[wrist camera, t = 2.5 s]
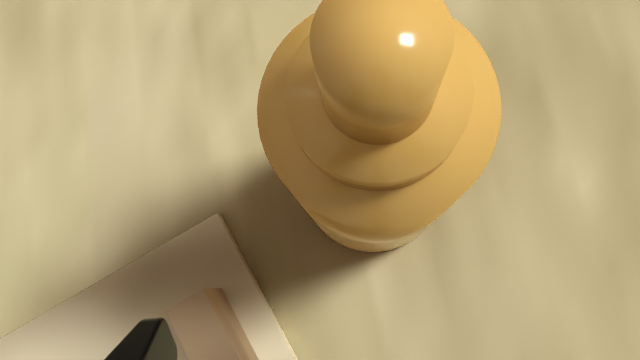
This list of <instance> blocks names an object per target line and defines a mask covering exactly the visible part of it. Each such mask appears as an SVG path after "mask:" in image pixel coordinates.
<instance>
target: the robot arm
mask: <svg viewBox="0 0 640 360" xmlns="http://www.w3.org/2000/svg"><path fill="white" fill-rule="evenodd" d="M177 357H178V352H177V346H176V343H175V341H174V338H173V336H172V333H171V331H170V328H169V326H168V324H167V322H166V320H165V319H164V318H161V317H158V318H146V319H142V320H141V321H139V322H138V323H137V324H136V325H135V327H134V328H133V329H132V330H131V331H130V332H129V333H128V334H127V335H126V336H125V337H124V338H123V340H122V341H121V342H120V343H119V344H118V345H117V346H116V347H115V348H114V349H113V350H112V351H111V353H110V354H109V355H108V356H107V357H106V358H105V359H104V360H177Z"/></svg>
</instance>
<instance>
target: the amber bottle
mask: <svg viewBox="0 0 640 360" xmlns="http://www.w3.org/2000/svg"><path fill="white" fill-rule="evenodd" d="M257 116H258V128H259V133H260V139H261V142H262V145H263V148H264V151H265V154H266V156H267V158H268V160H269V162H270V164H271V166H272V168H273V169H274V171H275V172H276V174H277V175H278V177H279V178H280V180H281V181H282V182H283V183H284V185H285V186H286V187H287V188H288V190H289V191H290V192H291V193H292V194H293V196H294V197H295V198H296V199H297V201H298V202H299V203H300V204H301V205H302V207H303V208H304V209H305V210H306V212H307V213H308V214H309V215H310V216H311V218H312V219H313V220H314V221H315V223H316V224H317V225H318V226H319V227H320V228H321V230H322V231H323V232H324V233H325V234H326V235H328V236H329V237H330V238H331V239H333V240H334V241H336V242H337V243H339V244H341V245H343V246H345V247H348V248H351V249H354V250H358V251H363V252H383V251H388V250H392V249H395V248H398V247H401V246H403V245H405V244H407V243H409V242H410V241H412V240H413V239H415V238H416V237H417V236H418V235H420V234H421V233H422V232H423V231H424V230H425V229H426V228H427V227H428V226H429V225H430V224H432V223H433V222H434V221H435V220H436V219H437V218H438V217H439V216H440V215H441V214H442V213H443V212H445V211H446V210H447V209H448V208H449V207H450V206H451V205H452V204H453V203H454V202H455V201H456V200H457V199H459V198H460V197H461V196H462V195H463V194H464V193H465V192H466V191H467V190H468V189H469V188H470V187H471V186H472V185H473V183H474V182H475V181H476V180H477V179H478V178H479V176H480V175H481V173H482V172H483V170H484V168H485V167H486V165H487V164H488V162H489V159H490V157H491V155H492V153H493V151H494V148H495V145H496V142H497V138H498V135H499V129H500V122H501V98H500V90H499V85H498V82H497V78H496V75H495V72H494V69H493V67H492V65H491V63H490V60H489V58H488V57H487V55H486V53H485V52H484V50H483V48H482V47H481V45H480V44H479V43H478V41H477V40H476V39H475V38H474V37H473V35H472V34H471V33H470V32H469V31H468V30H467V29H466V28H465V27H464V26H463V25H461V24H460V23H459V22H458V21H456V20H455V19H454V18H452V17H451V15H450V12H449V10H448V8H447V6H446V5H445V3H444V1H443V0H323V1H322V2H321V4H320V5H319V7H318V9H317V11H316V12H315V13H314V14H312V15H311V16H309V17H308V18H306V19H305V20H303V21H302V22H301V23H300V24H299V25H298V26H296V27H295V28H294V29H293V30H292V31H291V32H290V33H289V34H288V35H287V36H286V37H285V39H284V40H283V41H282V42H281V44H280V45H279V46H278V48H277V49H276V51H275V52H274V54H273V56H272V57H271V59H270V61H269V63H268V65H267V67H266V70H265V73H264V75H263V78H262V81H261V86H260V90H259V95H258V106H257Z"/></svg>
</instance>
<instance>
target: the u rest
mask: <svg viewBox="0 0 640 360" xmlns="http://www.w3.org/2000/svg"><path fill="white" fill-rule="evenodd" d="M158 317H161V318H164V319H165V320H166V322H167V324H168V326H169V328H170V331H171V333H172V336H173V338H174V341H175V343H176V346H177V352H178V357H177V360H298V358H297V357H296V355H295V353H294V351H293V349H292V347H291V345H290V343H289V342H288V340H287V338H286V336H285V334H284V332H283V330H282V328H281V327H280V325H279V323H278V321H277V319H276V317H275V315H274V313H273V312H272V310H271V308H270V306H269V304H268V302H267V300H266V298H265V297H264V295H263V293H262V291H261V289H260V287H259V285H258V283H257V281H256V280H255V278H254V276H253V274H252V272H251V270H250V268H249V266H248V265H247V263H246V261H245V259H244V257H243V255H242V253H241V251H240V250H239V248H238V246H237V244H236V242H235V240H234V238H233V236H232V235H231V233H230V231H229V229H228V227H227V225H226V223H225V221H224V220H223V218H222V216H221V215H220V214H218V213H216V214H214V215H213V216H211V217H209V218H207V219H206V220H204V221H202V222H201V223H199V224H197V225H195V226H194V227H192V228H190V229H188V230H187V231H185V232H183V233H182V234H180V235H178V236H176V237H175V238H173V239H171V240H170V241H168V242H166V243H164V244H163V245H161V246H159V247H157V248H156V249H154V250H152V251H151V252H149V253H147V254H145V255H144V256H142V257H140V258H138V259H137V260H135V261H133V262H132V263H130V264H128V265H126V266H125V267H123V268H121V269H119V270H118V271H116V272H114V273H113V274H111V275H109V276H107V277H106V278H104V279H102V280H100V281H99V282H97V283H95V284H94V285H92V286H90V287H88V288H87V289H85V290H83V291H81V292H80V293H78V294H76V295H75V296H73V297H71V298H69V299H68V300H66V301H64V302H62V303H61V304H59V305H57V306H56V307H54V308H52V309H50V310H49V311H47V312H45V313H44V314H42V315H40V316H38V317H37V318H35V319H33V320H31V321H30V322H28V323H26V324H25V325H23V326H21V327H19V328H18V329H16V330H14V331H12V332H11V333H9V334H7V335H6V336H4V337H2V338H0V360H104V359H105V358H106V357H107V356H108V355H109V354H110V353H111V351H112V350H113V349H114V348H115V347H116V346H117V345H118V344H119V343H120V342H121V341H122V340H123V338H124V337H125V336H126V335H127V334H128V333H129V332H130V331H131V330H132V329H133V328H134V327H135V325H136V324H137V323H138V322H139V321H141V320H142V319H146V318H158Z"/></svg>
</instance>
